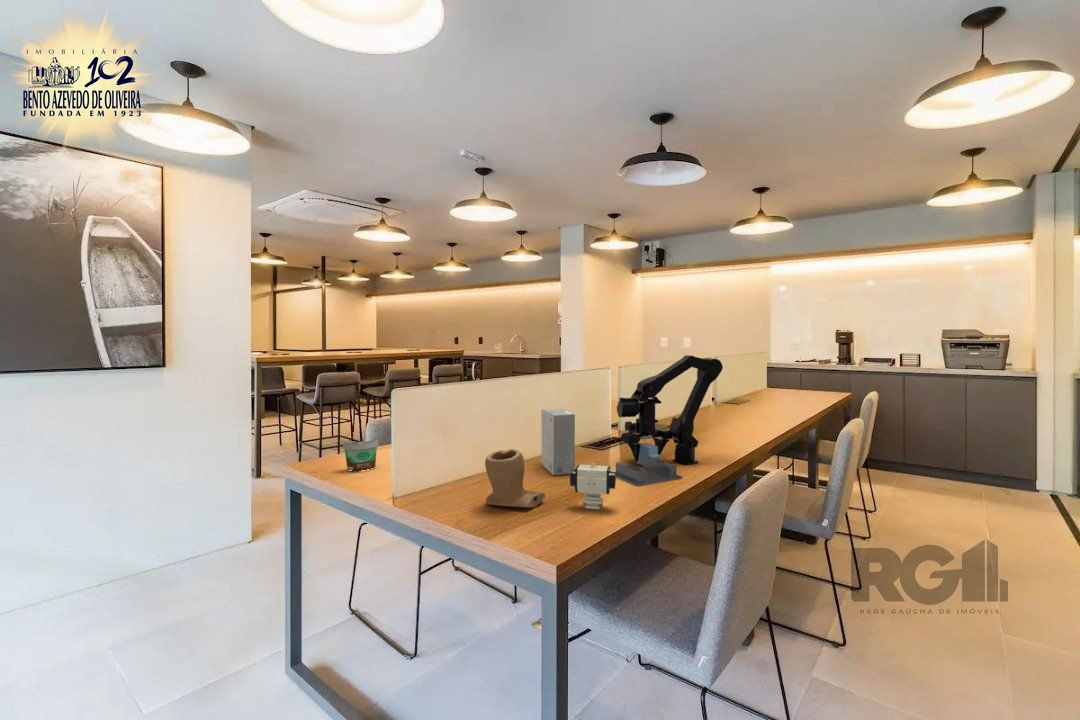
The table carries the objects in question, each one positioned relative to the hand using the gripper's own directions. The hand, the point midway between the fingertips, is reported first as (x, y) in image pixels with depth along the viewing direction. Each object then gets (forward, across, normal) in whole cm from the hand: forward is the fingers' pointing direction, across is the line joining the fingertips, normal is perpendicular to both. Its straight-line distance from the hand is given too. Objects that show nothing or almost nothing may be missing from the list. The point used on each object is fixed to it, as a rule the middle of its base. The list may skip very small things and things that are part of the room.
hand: (646, 460), depth 176 cm
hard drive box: (+2, +31, -9) cm, 32 cm away
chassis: (+2, +10, +12) cm, 16 cm away
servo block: (+2, 0, 0) cm, 2 cm away
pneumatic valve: (+2, +41, +29) cm, 50 cm away
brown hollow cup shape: (+2, +59, +17) cm, 61 cm away
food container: (+2, +90, -39) cm, 98 cm away
